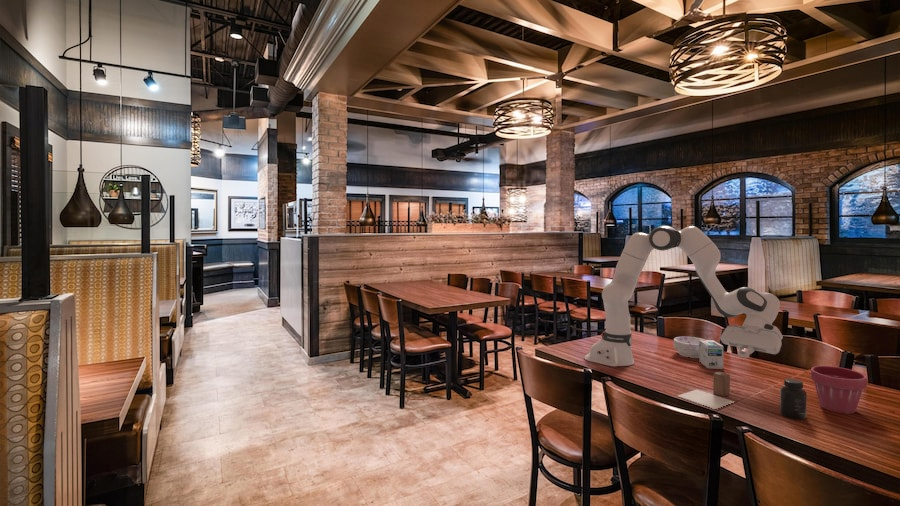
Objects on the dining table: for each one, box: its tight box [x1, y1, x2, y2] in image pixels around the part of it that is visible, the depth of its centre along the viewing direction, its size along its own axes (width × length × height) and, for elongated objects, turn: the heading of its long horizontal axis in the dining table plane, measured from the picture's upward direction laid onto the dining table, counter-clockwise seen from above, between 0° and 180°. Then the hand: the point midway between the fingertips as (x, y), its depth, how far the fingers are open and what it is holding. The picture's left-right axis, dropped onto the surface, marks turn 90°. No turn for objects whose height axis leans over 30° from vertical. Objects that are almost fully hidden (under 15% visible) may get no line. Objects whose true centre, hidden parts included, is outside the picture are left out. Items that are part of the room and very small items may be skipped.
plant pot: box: [810, 365, 868, 415], centre depth 144 cm, size 14×14×13 cm
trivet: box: [676, 389, 735, 410], centre depth 154 cm, size 12×14×1 cm
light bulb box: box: [698, 339, 724, 370], centre depth 193 cm, size 11×7×11 cm, turn 168°
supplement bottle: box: [779, 378, 808, 421], centre depth 139 cm, size 7×7×12 cm
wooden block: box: [712, 371, 731, 398], centre depth 159 cm, size 4×4×8 cm
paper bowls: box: [673, 336, 705, 359], centre depth 208 cm, size 15×15×8 cm
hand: (742, 356), depth 165 cm, fingers closed
